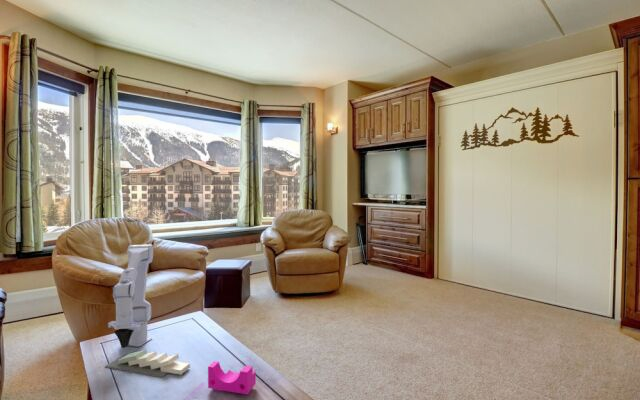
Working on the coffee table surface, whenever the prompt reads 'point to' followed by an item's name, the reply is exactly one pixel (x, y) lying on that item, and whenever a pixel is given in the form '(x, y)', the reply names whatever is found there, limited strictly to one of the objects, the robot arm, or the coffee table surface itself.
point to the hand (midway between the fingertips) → (124, 346)
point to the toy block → (231, 379)
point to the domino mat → (136, 368)
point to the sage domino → (132, 356)
